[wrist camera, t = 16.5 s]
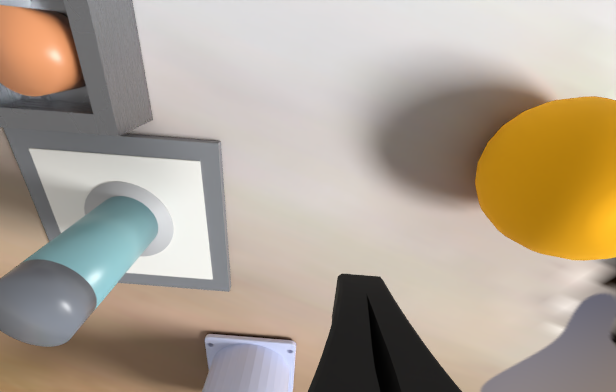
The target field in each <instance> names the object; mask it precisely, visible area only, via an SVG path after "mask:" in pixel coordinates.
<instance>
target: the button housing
mask: <svg viewBox="0 0 616 392" xmlns="http://www.w3.org/2000/svg"><path fill="white" fill-rule="evenodd" d="M0 5H5V6H14V7H24V8H33V9H42V10H50V11H55V12H58V13H60V14H63V15H64V16H66V17H68V19H69V23H70V27H71V31H72V35H73V38H74V42H75V46H76V50H77V54H78V57H79V61H80V65H81V69H82V73H83V76H84V80H85V84H86V85H85V86H83V87H81V88H78V89H73V90H68V91H63V92H58V93H53V94H48V95H43V96H26V95H22V94H19V93H16V92H14V91H12V90H10V89H9V88H7V87H5V86H4V85H3V84H1V83H0V127H6V128H19V129H32V130H46V131H59V132H72V133H85V134H98V135H111V136H120V135H122V134H124V133H126V132H128V131H130V130H133V129H135V128H137V127H139V126H141V125H143V124H145V123H147V122H149V121H152V120H153V118H152V112H151V106H150V101H149V95H148V89H147V83H146V78H145V72H144V66H143V60H142V55H141V49H140V43H139V37H138V32H137V26H136V20H135V14H134V9H133V3H132V0H0Z"/></svg>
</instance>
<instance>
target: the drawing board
mask: <svg viewBox="0 0 616 392" xmlns="http://www.w3.org/2000/svg"><path fill="white" fill-rule="evenodd" d="M3 129H4V131H5V134H6V136H7V139H8V141H9V143H10V146H11V148H12V151H13V153H14V156H15V158H16V161H17V163H18V165H19V168H20V170H21V173H22V175H23V178H24V180H25V183H26V185H27V187H28V190H29V192H30V195H31V197H32V200H33V202H34V205H35V207H36V209H37V212H38V214H39V217H40V219H41V222H42V224H43V227H44V229H45V231H46V234H47V236H48V239H49V241H51V240H53V239H54V238H55V237H57V236H58V235H59V234H61V233H62V232H63V231H65V230H66V229H68V228H69V227H70V226H72V225H73V224H74V223H76V222H77V221H78V220H80V219H81V218H82V217H84V216H85V215H86V214H88V213H89V212H90V211H92V210H93V209H94V208H96V207H97V206H98V205H100V204H101V203H103V202H104V201H105V200H107V199H108V198H111V197H115V196H125V197H130V198H133V199H135V200H138V201H139V202H141V203H143V204H144V205H145V206H147V207H148V208H149V209H150V210H151V211H152V213H153V214H154V216H155V217H156V220H157V223H158V233H157V236H156V237H155V239H154V240H153V241H152V242H151V243H150V245H149V246H148V247H147V248H146V249H145V251H144V252H143V253H142V254H141V255H140V257H139V258H138V259H137V260H136V261H135V262H134V264H133V265H132V266H131V267H130V268H129V270H128V271H127V272H126V273H125V274H124V276H123V277H122V278H121V279H120V280H119V282H118V283H128V284H141V285H153V286H166V287H178V288H191V289H203V290H216V291H228V292H229V291H230V288H231V279H230V265H229V252H228V238H227V224H226V210H225V196H224V182H223V168H222V154H221V141H212V140H199V139H185V138H172V137H159V136H146V135H133V134H122V135H120V136H111V135H98V134H85V133H72V132H59V131H46V130H32V129H19V128H6V127H3Z"/></svg>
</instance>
